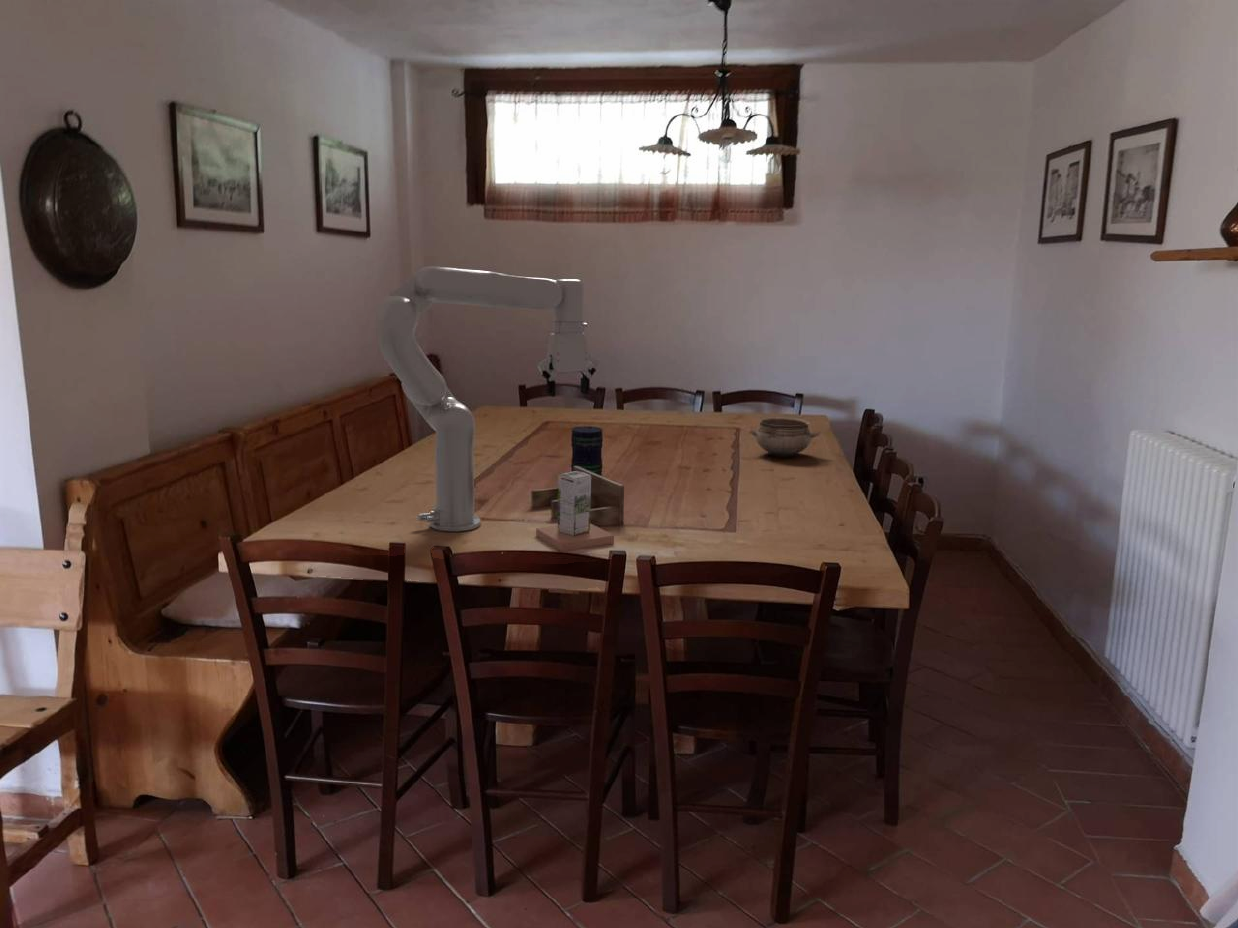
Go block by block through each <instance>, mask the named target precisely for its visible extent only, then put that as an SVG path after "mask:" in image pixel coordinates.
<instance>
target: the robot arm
mask: <svg viewBox="0 0 1238 928" xmlns="http://www.w3.org/2000/svg"><path fill="white" fill-rule="evenodd" d="M434 303H439V304H440V303H441V304H451V305H452V304H454V305H467V306H478V307H488V308H489V307H490V308H491V307H492V308H501V307H502V308H503V307H504V308H517V309H519V308H520V309H528V310H529V309H530V310H531V309H532V310H541V311H542V310H543V311H551V310H553V333H550V335H549V341H548V346H547V347H548V348H547V356H546V358H544V359H543V360H540V361H539V362H537V364H536V367H537V369H538V371H539V373H540V375H541V376H542V377H543V378H544V379H545V380H546V393H547V396H550V397H556V381H555V380H554V379H555V378H556V377H557V375H558V374H573V373H580V375H581V376H582V377H581V378H580V394H584V395H589V391H590V385H591V384H590V380H591V379H592V376H593V375H594V374H595V373H596V370H597V368H598V365H599V364H600V363H599V361H598V360H597V359H596V358H593V357H592V356H589V348H588V342H587V341H588V340H587V336H586V333H584V331H585V330H586V329H588V323H586V322H584V284H583V282H582V280H580V279H576V278H575V279H573V278H571V279H570V278H561V279H560V278H559V279H556V280H555V279H551V278H545V277H544V278H543V277H527V276H517V275H509V274H505V273H500V272H495V271H487V270H478V269H466V268H456V267H446V266H445V267H444V266H434V265H433V266H432V265H428V266H424V267H422V268H420V269H419V270H417V271H416V272H415V273H413V275H411V276H410V277H409V278H408V279H406V280H405V281H403V283H402V284H400V285H399V286H398V287H396V288H395V289H394V290H393V291H391V292H390V293H388V295H386V296H385V297H384V298H383V299H382V300H381V301H380V303H379V304H378V307H377V316H378V319H379V322H380V325H379V329H378V343H379V344H378V345H379V349H380V351H381V354H382V356H383V358H384V360H385V362H386V363H387V364H388V366H389V367H390V368H391V370H392V371H393V373H394V374H395V375H396V377H397V378H398V379H399V381H400V382H401V387H402V391H403V392H404V394H405V396H406V397H407V398H408V400H409V401H410V403H412V405H413V406H414V407H415V410H417V412H418V413H419V414H420V416H422V418H423V419H424V420H425V422H426V423H427V424H428V425H429V426H430V428H431V429H433V431H434V432H435V444H434V446H435V447H434V467H435V469H434V470H435V499H436V500H435V502H436V507H435V506H434V507H432V510H430V511H429V512H422V513H418V514H417V520H418V522H424V521H426V523H430V527H431V528H432V529H434V530H437V531H441V532H465V531H471V530H474V529H476V528H478V527H480V526H481V524H482V521H481V518H480V517H478V516H476V515H475V476H474V475H475V470H474V469H475V467H474V465H475V464H474V447H475V445H474V444H475V443H474V442H475V436H476V434H475V433H476V420H475V418H474V415H473V413H472V411H471V410H470V408H468V407H467V406H466V405H464V404H463V403H462V402H460V401H458V400H457V399H456V397H455V396H454V395H453V394H452V392H451V391H450V390H449V388H448V387H447V384H446V380H445V378H444V376H443V375H442V374H441V373H440V371H439V370H438V369H436V367H435V366H434V365H433V364H432V362H431V361H430V359H429V358H428V357H427V356H426V354H425V352H424V351H423V349H422V348H421V347H420V346H419V343H418V342H417V339H416V334H415V333H416V328H417V326H418V324H419V320H420V315H421V314H422V313H423V312H424V311H426V310H427V309H428V308H430V306H431V305H433V304H434ZM589 364H590V367H589ZM546 368H547V370H546Z"/></svg>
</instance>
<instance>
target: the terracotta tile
mask: <svg viewBox="0 0 1238 928" xmlns="http://www.w3.org/2000/svg"><path fill="white" fill-rule="evenodd" d="M535 536H536V537H537V538H538V539H541V540H542V541H544V543H547V544H548V545H550V546H552V547H554V548H555V549H557V550H559V551H560V552H568V551H569V552H570V551H575V550H582V549H586V548H587V549H588V548H592V547H600V546H607V545H613V544H615V535H614V534H612V533H610V532H608V531H607V530H604V529H602V528H600V526H599V527H597V526H595V525H593V524H591V523H590V531H589V532H586V533H582V534H578V535H575V536H572V535H569V534H565V533H562V532H559V531H558V524H556V525H550V526H544V527H537V528H536V529H535Z"/></svg>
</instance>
